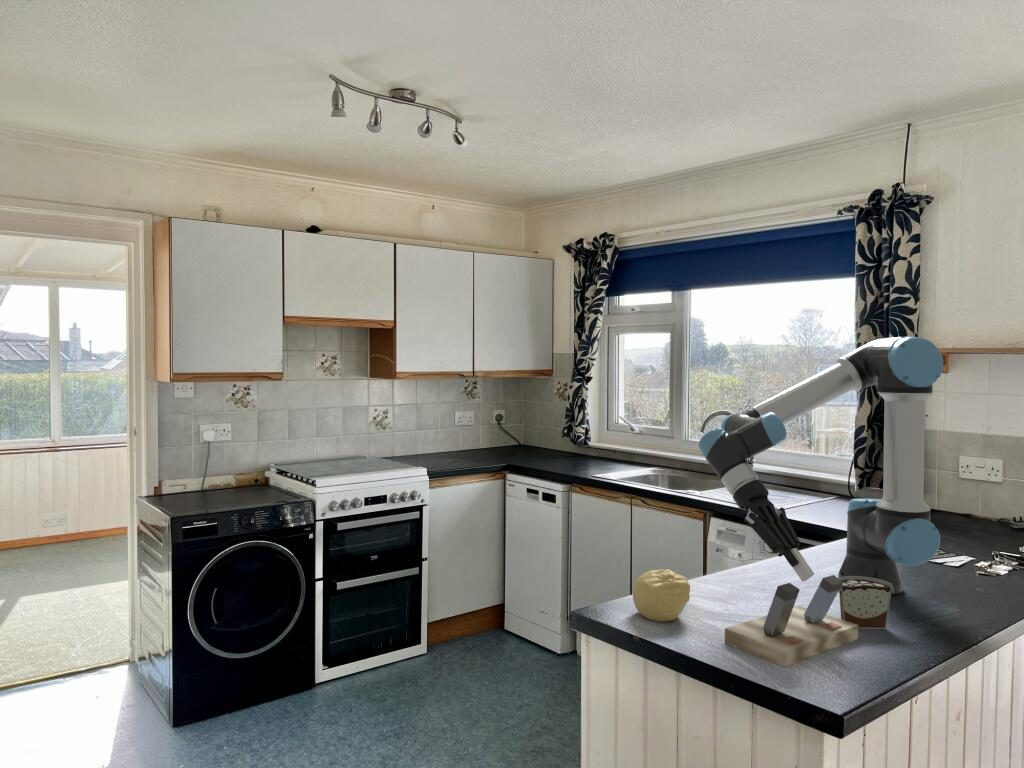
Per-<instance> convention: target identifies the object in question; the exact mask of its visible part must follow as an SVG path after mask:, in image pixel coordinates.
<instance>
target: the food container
mask: <svg viewBox="0 0 1024 768" xmlns="http://www.w3.org/2000/svg"><path fill="white" fill-rule="evenodd" d="M840 580H841V581H842V582H843V584H842V586H841V588H840V590H839V591H838V593H839V606H840V608H839V609H840V619H842V620H845V621H848V622H851V623H854V624H857V625H859V629H860V630H866V629H867V630H886V629H887V624H888V617H889V612H890V611H889V610H890V603H891V597H892V595H891V592H892V593H894V588H893V587H892V584H891V583H889V582H886V581H883V580H880V579H875V578H870V577H862V576H846V577H842V578H840ZM859 629H858V630H859Z"/></svg>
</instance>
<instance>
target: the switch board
mask: <svg viewBox="0 0 1024 768" xmlns="http://www.w3.org/2000/svg"><path fill="white" fill-rule="evenodd" d="M807 608H808V607H805V606H804V607H803V606H801V605H798V606H797V605H796V606H794V607H793V610H792V612H791V615H790V618H789V620H788V623H787V626H786V629H785V631H784V632H782V633H779V634H776V635H773V636H772V635H769V636H766V635H765V634H764V629H763V626H764V623H765V621H766V618H767V615H764V616H760V617H758V618H754V619H752V620H751V619H750V620H747V621H744V622H742V623H738V624H735V625H732V626H731V625H730V626H728V627H726V628H724V642H725V643H724V644H726V643H728V644H727V645H729V644H730V645H729V646H731V645H733V646H732V647H734V646H736V647H738V648H737V649H739V648H740V649H739V650H741V649H743V650H742V651H744V650H745V651H744V652H746V651H747V652H746V653H749V654H751V653H752V654H751V655H754V654H755V655H754V656H756V655H757V657H758V656H759V657H758V658H761V657H762V659H763V658H764V659H763V660H766V661H768V662H771V663H773V664H775V665H778V666H781V667H783V668H786V667H789V666H791V665H792V666H793V664H796V663H799V662H801V661H804V660H808V659H810V658H812V657H814V656H817V655H820V654H822V653H826V652H828V651H830V650H834V649H835V648H838V647H841V646H843V645H846V644H848V643H849V644H850V643H852V642H855V641H857V640H859V625H857V624H854V623H851V622H848V621H845V620H842V619H841V618H837V617H835V616H832V615H829V614H826V616H825V617H824V619H823V620H820V621H817V622H814V623H812V622H809V623H807V622H806V621H805V616H804V613H805V611H806V610H807ZM736 647H735V648H736Z"/></svg>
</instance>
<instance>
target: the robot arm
mask: <svg viewBox="0 0 1024 768" xmlns="http://www.w3.org/2000/svg"><path fill="white" fill-rule="evenodd" d="M943 369H944V358H943V355H942V353H941V351H940V349H939V348H938V347H937V346H936V345H935V344H934V343H933V342H931V341H930V340H928V339H926V338H925V337H924V338H923V337H919V336H918V337H917V336H909V335H907V336H897V337H881V338H877V339H875V340H871V341H869V342H867V343H865V344H864V345H862V346H859V347H857V348H856V349H854V350H851V351H850V352H849V353H847V354H844V355H843V356H841V357H839V358H837V360H836V363H835V364H833V365H831V366H830V367H828V368H826V369H823V370H822V371H820V372H818V373H817V374H815V375H813V376H811V377H809V378H806V379H805V380H803V381H800V382H799V383H797V384H795V385H793V386H791V387H789V388H787V389H785V390H783V391H781V392H780V393H777V394H775V395H773V396H772V397H769V398H767V399H766V400H764V401H762V402H760V403H758V404H756V405H754V406H752V407H750V408H749V409H748V408H747V410H744V411H742V412H741V413H732V414H729V415H727V416H726V417H725V418H724V419H723V420H722V422H721V427H716V428H713V429H711V430H708V432H706V433H705V434H704V435H702V436H701V438H700V440H699V442H698V448H699V450H700V452H701V453H702V455H703V457H704V458H705V460H706V461H707V462H708V464H709V466H710V467H711V469H712V470H713V471H714V473H715V474H716V476H717V477H718V478H719V479H720V481H721V482H722V484H723V485H724V486H725V489H726V490H727V492H728V493H729V494H730V495H731V496H732V499H733V501H734V502H735V504H736V505H737V506H738V508H739V509H740V511H741V510H742V511H745V512H746V516H745V517H744V518H743V521H744V523H746V525H748V526H749V527H750V528H751V529H753V531H754V532H755V533H756V535H758V536H759V538H761V540H762V541H763V542H764V543H765V544H766V546H767V547H768V548H769V549H770V550H771V551H772V552H773V554H777V556H778V557H779V558H781V557H784V558H785V559H786V561H787V562H788V564H789V565H790V567H791V568H792V569H793V571H794V572H795V574H796V575H797V576H798V578H799V579H800V581H801V582H803V583H804V582H806V581H807V580H809V579H810V578H812V577H813V576H815V572H814V571H813V569H812V568H811V567H810V565H809V564H808V563H807V561H806V558H805V557H804V556H803V554H802V553H801V552H800V551H799V549H798V548H799V547H800V546H801V541H800V539H799V538H798V536H797V533H796V531H795V529H794V528H793V526H792V524H791V522H790V521H789V518H788V516H787V513H786V509H785V508H784V507H780V508H777V507H775V504H774V503H773V502H771V501H770V500H769V494H770V493H769V490H768V488H767V487H766V486H765V485H764V483H763V482H762V480H760V479H759V476H758V475H757V473H756V472H755V471H754V469H753V467H752V466H751V465H750V463H749V462H748V461H747V460H750V459H751V458H752V457H755V456H757V455H759V454H760V453H761V454H762V452H765V451H767V450H769V449H770V448H773V447H776V446H777V445H778V444H780V443H782V442H783V441H784V440H785V439H786V438H787V436H788V435H787V434H788V433H787V430H786V427H785V425H786V424H788V423H790V422H791V421H793V420H796V419H798V418H800V417H801V416H803V415H806V414H807V413H809V412H811V411H813V410H815V409H817V408H819V407H821V406H823V405H825V404H827V403H829V402H831V401H833V400H835V399H837V398H838V397H840V396H842V395H844V394H846V393H849V392H851V391H854V392H860V391H861V390H864V389H865V388H867V387H871V386H877V394H878V395H879V396H880V397H881V398H883V401H884V403H883V405H884V406H883V407H884V409H883V410H884V412H883V413H884V414H883V417H884V418H883V421H884V422H883V425H884V426H883V474H882V475H883V476H882V477H883V478H882V479H883V482H882V483H883V485H882V487H883V488H882V489H883V490H882V491H883V492H882V494H883V495H882V498H860V497H859V498H852V499H850V501H849V502H848V506H847V507H848V508H847V512H846V513H847V525H846V526H847V529H846V550H845V551H846V554H845V557H844V559H843V561H842V563H841V566H840V569H839V571H838V574H837V578H838V579H840V578H842V577H846V576H862V577H870V578H875V579H880V580H883V581H886V582H889V583H891V584H892V587H893V588H894V593H892V592H891V596H896V595H900V594H901V593H903V585H904V584H903V580H902V576H901V573H900V570H899V566H898V564H903V565H904V566H909V567H910V566H911V567H915V566H916V567H917V566H921V565H923V564H926V563H927V562H929V561H930V560H931V559H932V558H934V556H936V554H937V552H938V550H939V549H940V545H941V536H940V535H941V534H940V532H939V530H938V528H937V527H936V525H935V524H934V523H933V522H931V507H930V506H929V505H928V504H927V503H926V502H925V501H924V491H925V489H924V485H925V484H924V483H925V481H924V478H925V476H924V475H925V474H924V473H925V470H924V469H925V426H926V425H925V421H926V420H925V419H926V416H925V414H926V413H925V412H926V411H925V410H926V400H928V398H929V397H931V396H932V395H933V387H934V386H933V384H934V383H936V382H937V380H938V378H940V377H941V375H942V373H943ZM899 593H900V594H899ZM895 594H896V595H895Z"/></svg>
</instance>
